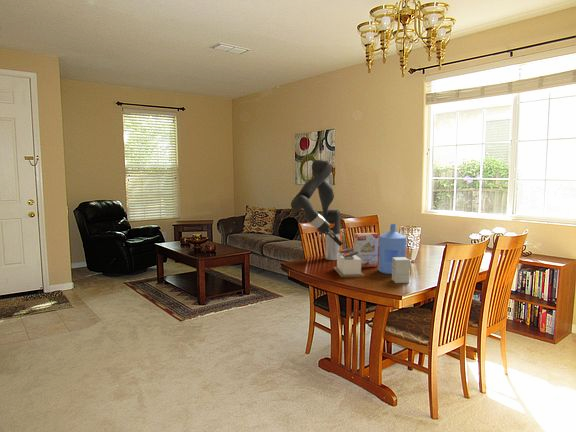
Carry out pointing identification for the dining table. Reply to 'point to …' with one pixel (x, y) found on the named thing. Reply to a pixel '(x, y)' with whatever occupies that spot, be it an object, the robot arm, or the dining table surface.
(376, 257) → the cracker box
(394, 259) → the supplement box
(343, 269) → the switch panel
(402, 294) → the dining table surface
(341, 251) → the block
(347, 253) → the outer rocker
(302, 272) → the dining table surface
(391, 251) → the water jug
